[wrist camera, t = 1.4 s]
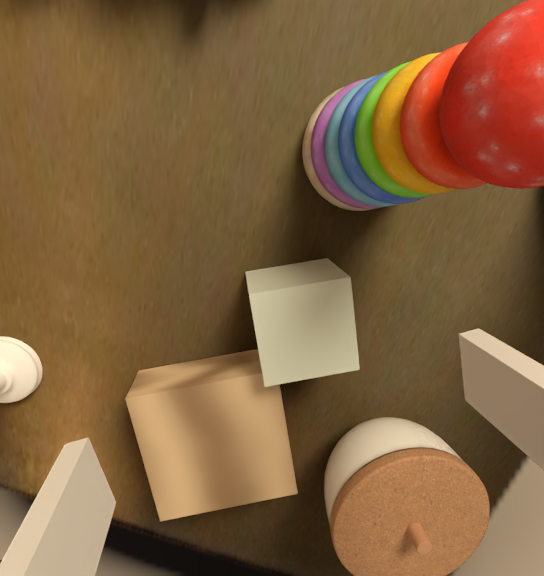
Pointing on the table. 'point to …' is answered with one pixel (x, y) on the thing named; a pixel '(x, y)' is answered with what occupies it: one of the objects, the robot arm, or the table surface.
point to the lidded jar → (402, 501)
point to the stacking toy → (437, 121)
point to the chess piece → (18, 370)
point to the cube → (303, 321)
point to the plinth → (211, 434)
